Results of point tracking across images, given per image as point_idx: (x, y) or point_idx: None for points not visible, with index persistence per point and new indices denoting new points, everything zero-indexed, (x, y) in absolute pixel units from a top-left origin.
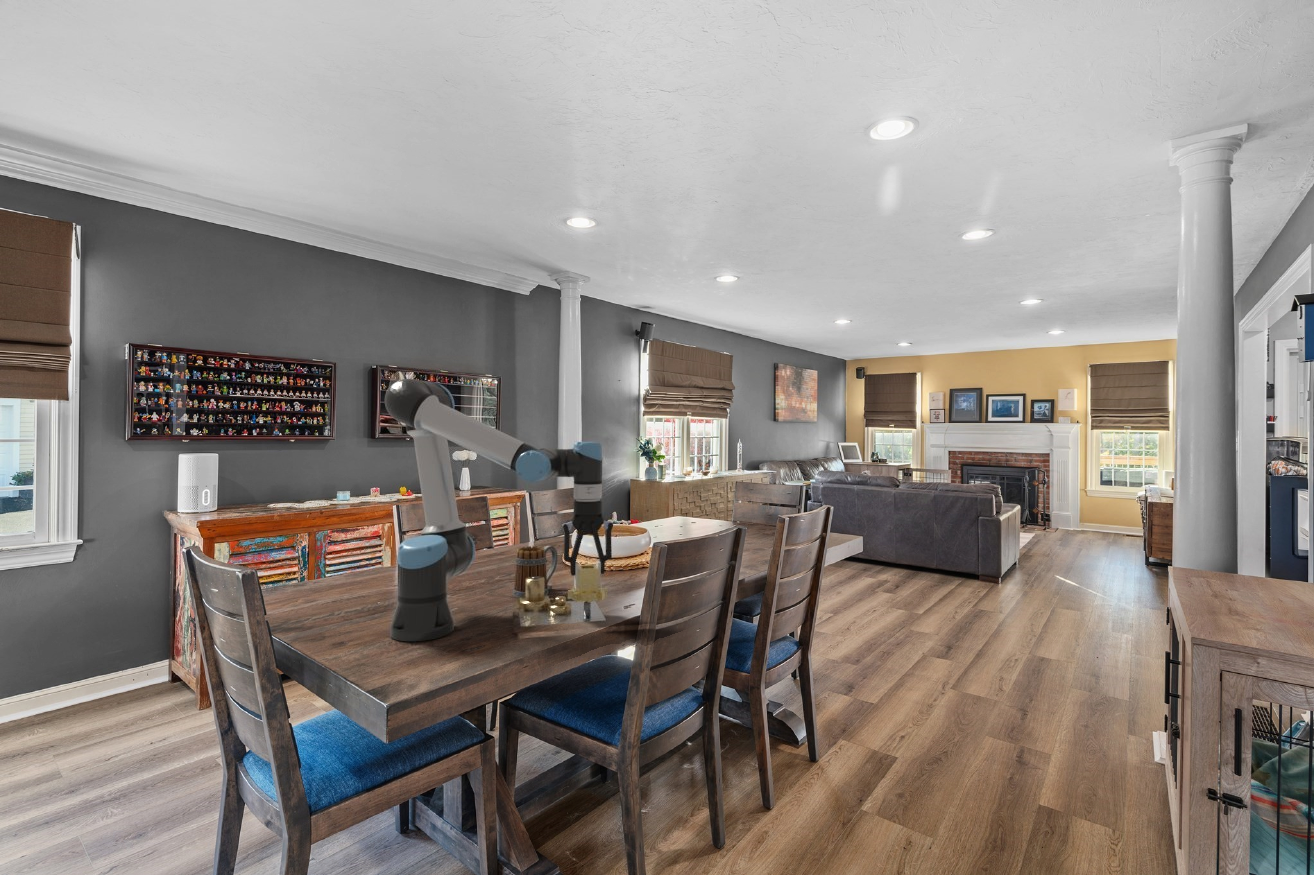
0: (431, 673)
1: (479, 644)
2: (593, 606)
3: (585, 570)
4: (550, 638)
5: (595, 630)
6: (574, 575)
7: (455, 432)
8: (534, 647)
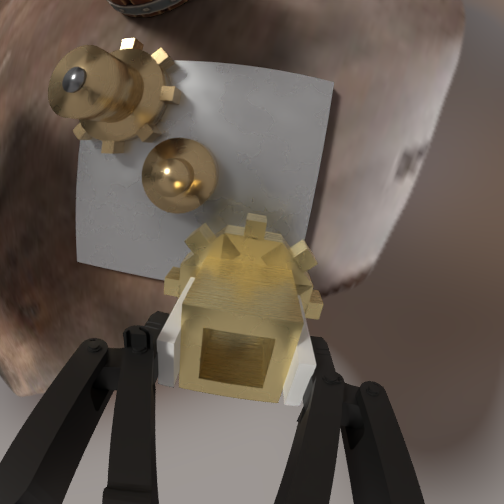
0: (17, 361)
1: (32, 297)
2: (304, 155)
3: (211, 389)
4: None
5: None
6: (178, 300)
7: None
8: None
